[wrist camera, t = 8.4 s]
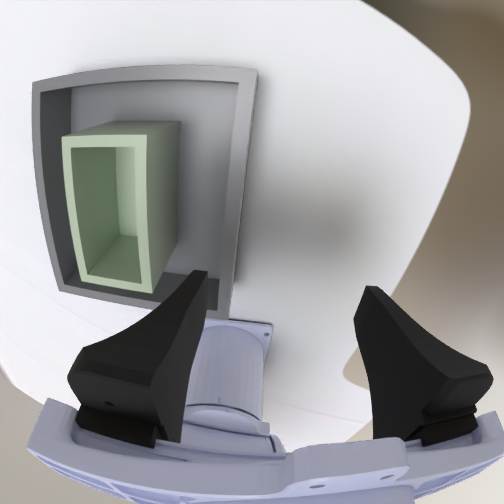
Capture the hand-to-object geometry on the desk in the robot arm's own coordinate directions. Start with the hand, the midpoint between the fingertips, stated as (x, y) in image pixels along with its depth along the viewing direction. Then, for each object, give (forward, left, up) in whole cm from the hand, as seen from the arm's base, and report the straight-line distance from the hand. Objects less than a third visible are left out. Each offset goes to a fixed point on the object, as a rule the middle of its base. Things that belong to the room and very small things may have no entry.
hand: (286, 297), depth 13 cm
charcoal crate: (+2, +10, -9) cm, 14 cm away
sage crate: (+2, +10, -9) cm, 13 cm away
